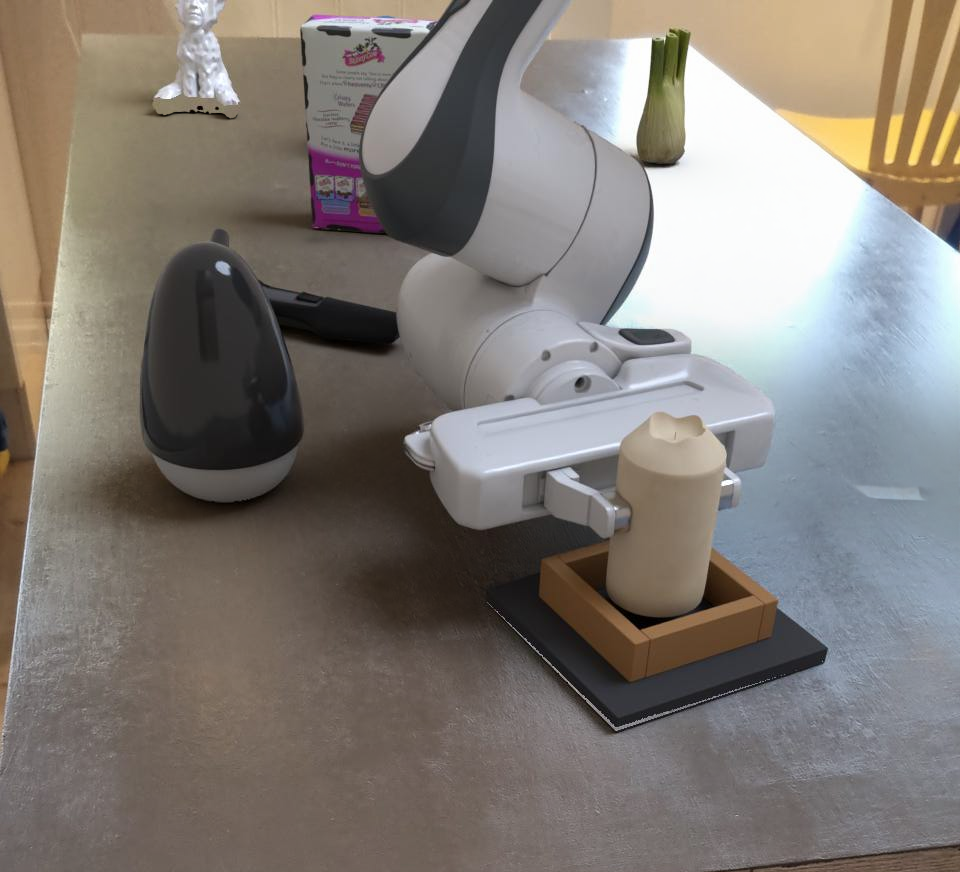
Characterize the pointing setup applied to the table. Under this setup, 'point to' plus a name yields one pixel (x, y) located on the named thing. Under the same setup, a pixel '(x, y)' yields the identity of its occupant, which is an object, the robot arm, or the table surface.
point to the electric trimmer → (332, 316)
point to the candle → (666, 515)
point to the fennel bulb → (665, 101)
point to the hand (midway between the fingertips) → (675, 510)
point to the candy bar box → (347, 106)
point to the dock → (652, 636)
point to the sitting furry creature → (200, 55)
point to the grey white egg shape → (217, 378)
